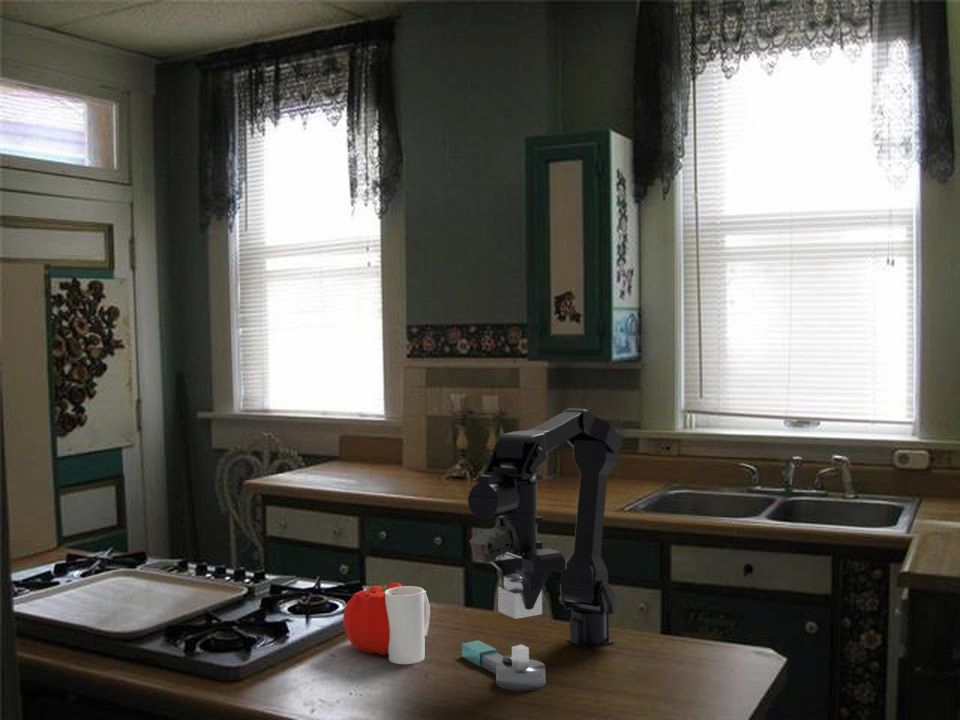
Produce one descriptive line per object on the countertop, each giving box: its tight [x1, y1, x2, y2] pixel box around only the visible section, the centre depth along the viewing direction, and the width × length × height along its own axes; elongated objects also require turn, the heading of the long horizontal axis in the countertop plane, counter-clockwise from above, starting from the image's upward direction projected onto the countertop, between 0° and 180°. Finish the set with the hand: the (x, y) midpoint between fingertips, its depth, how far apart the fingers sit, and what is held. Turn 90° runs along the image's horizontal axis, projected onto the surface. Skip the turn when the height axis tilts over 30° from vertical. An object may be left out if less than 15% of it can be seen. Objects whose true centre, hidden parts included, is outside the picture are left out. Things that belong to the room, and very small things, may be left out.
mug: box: [385, 585, 431, 665], centre depth 177 cm, size 10×7×12 cm, turn 144°
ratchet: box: [461, 639, 546, 692], centre depth 169 cm, size 20×8×6 cm, turn 31°
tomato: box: [342, 581, 404, 657], centre depth 181 cm, size 13×14×12 cm
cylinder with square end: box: [497, 573, 543, 620], centre depth 166 cm, size 5×5×6 cm
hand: (520, 605), depth 166 cm, fingers closed on cylinder with square end, 5 cm apart
